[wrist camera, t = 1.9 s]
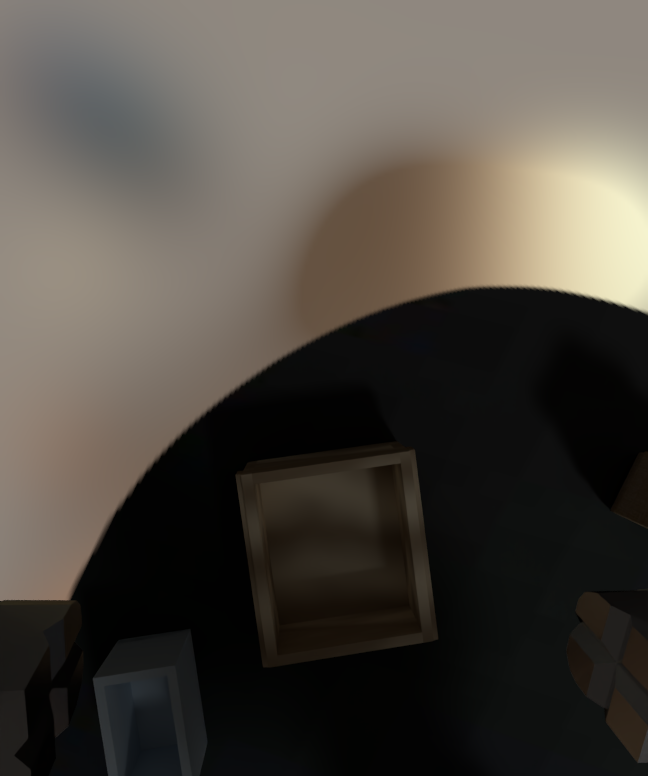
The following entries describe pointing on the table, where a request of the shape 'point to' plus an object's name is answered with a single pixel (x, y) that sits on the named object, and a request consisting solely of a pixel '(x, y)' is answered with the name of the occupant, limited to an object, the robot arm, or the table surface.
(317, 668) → the table surface
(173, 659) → the small crate
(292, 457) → the pine crate
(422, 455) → the table surface
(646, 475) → the toy train
